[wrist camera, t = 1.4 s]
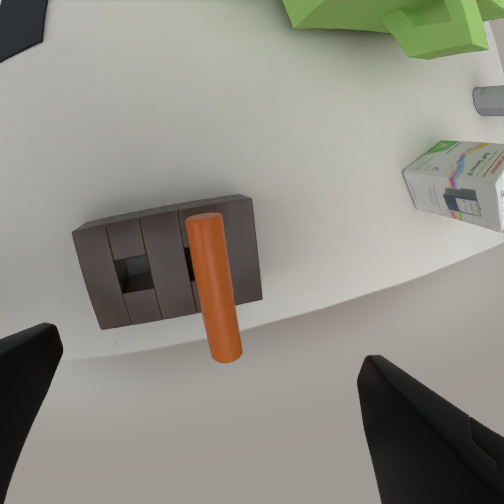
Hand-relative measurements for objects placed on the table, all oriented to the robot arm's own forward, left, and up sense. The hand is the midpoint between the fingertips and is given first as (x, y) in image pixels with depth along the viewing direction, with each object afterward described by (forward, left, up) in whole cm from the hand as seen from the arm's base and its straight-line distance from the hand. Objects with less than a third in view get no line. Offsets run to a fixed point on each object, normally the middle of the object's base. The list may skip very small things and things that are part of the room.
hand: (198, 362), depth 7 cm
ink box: (+26, -5, -16) cm, 32 cm away
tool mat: (-5, +31, -16) cm, 35 cm away
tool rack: (-2, -1, -16) cm, 16 cm away
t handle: (+1, -2, -16) cm, 16 cm away
